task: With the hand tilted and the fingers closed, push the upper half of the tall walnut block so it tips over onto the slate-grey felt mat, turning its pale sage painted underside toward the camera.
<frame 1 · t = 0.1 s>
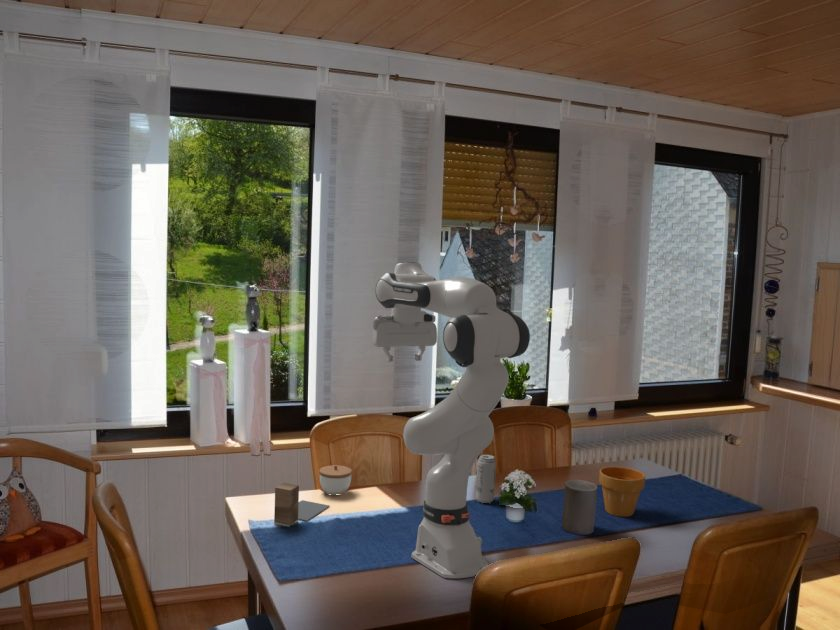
hand: (404, 360, 224), 48 cm above the table, tool pointing down, fingers open, 8 cm apart
flower pot: (619, 512, 239), on the table
lidded jar: (334, 493, 245), on the table
walnut block: (286, 522, 218), on the table
energy drink can: (484, 501, 244), on the table
pillar candle: (578, 529, 223), on the table
felt mat: (304, 511, 227), on the table
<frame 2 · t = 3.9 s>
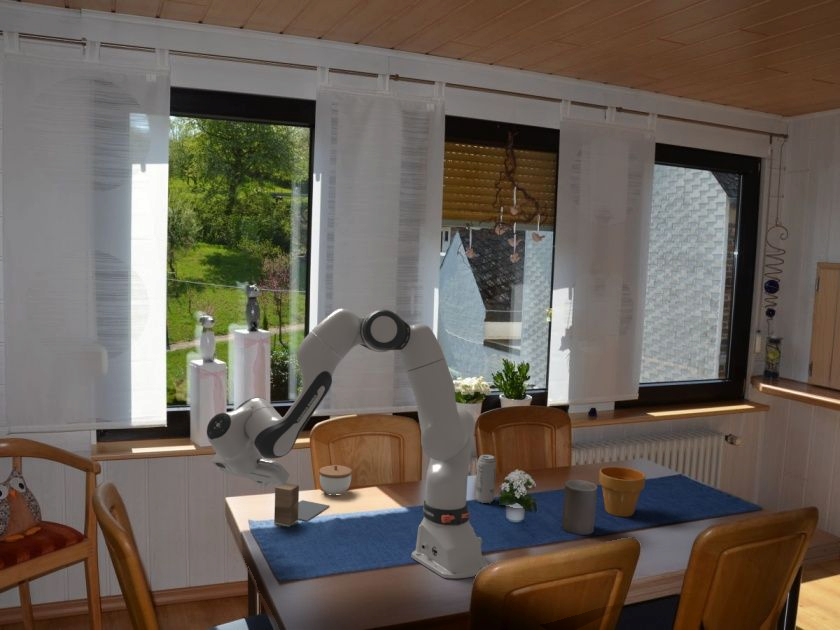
hand: (263, 483, 205), 15 cm above the table, tool tilted 45°, fingers closed
nothing on the table moved.
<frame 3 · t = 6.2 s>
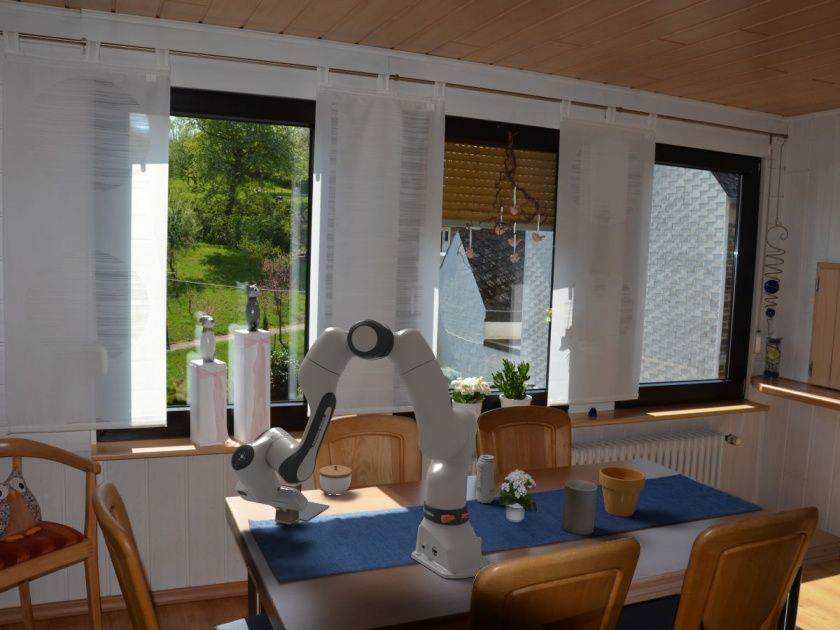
hand: (282, 508, 215), 5 cm above the table, tool tilted 45°, fingers closed, pressing on walnut block
walnut block: (286, 521, 218), on the table, tilted 8°, touching gripper
everything else where it was.
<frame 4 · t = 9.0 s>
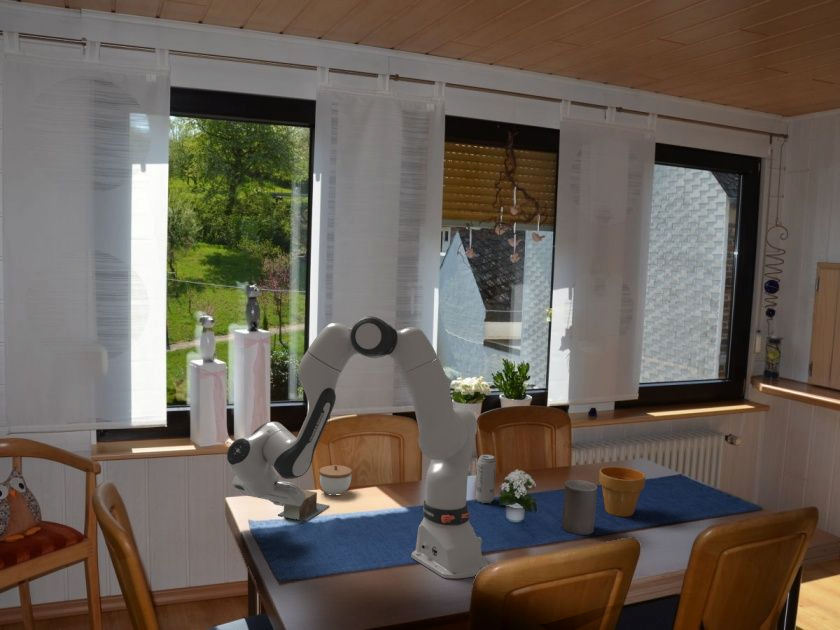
hand: (280, 503, 214), 7 cm above the table, tool tilted 45°, fingers closed
walnut block: (291, 510, 220), point 3 cm above the table, tilted 90°, touching felt mat
everything else where it was.
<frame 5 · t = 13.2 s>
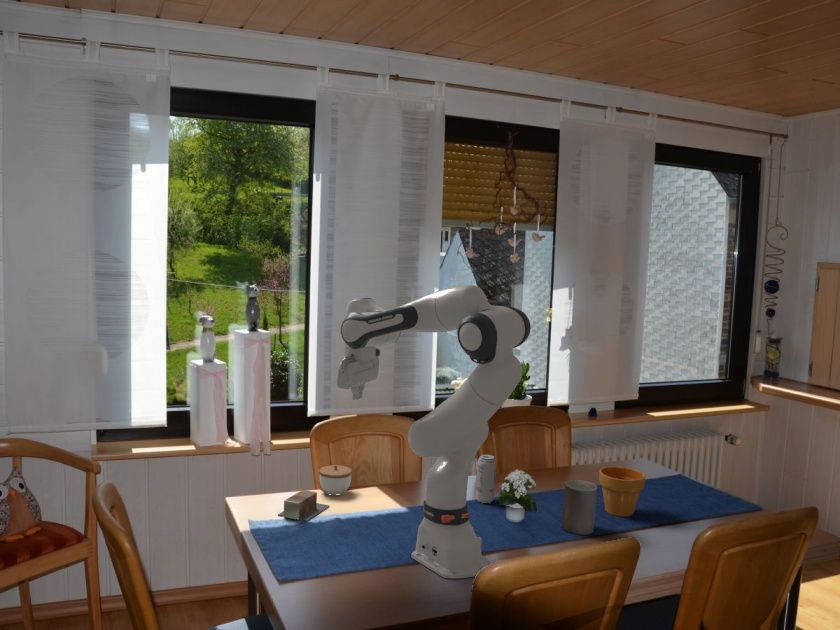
hand: (357, 399, 218), 37 cm above the table, tool pointing down, fingers closed
nothing on the table moved.
at the end: walnut block tilted 90°; walnut block inside the target area (3.8 cm from its centre), point 2.9 cm above the table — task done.
